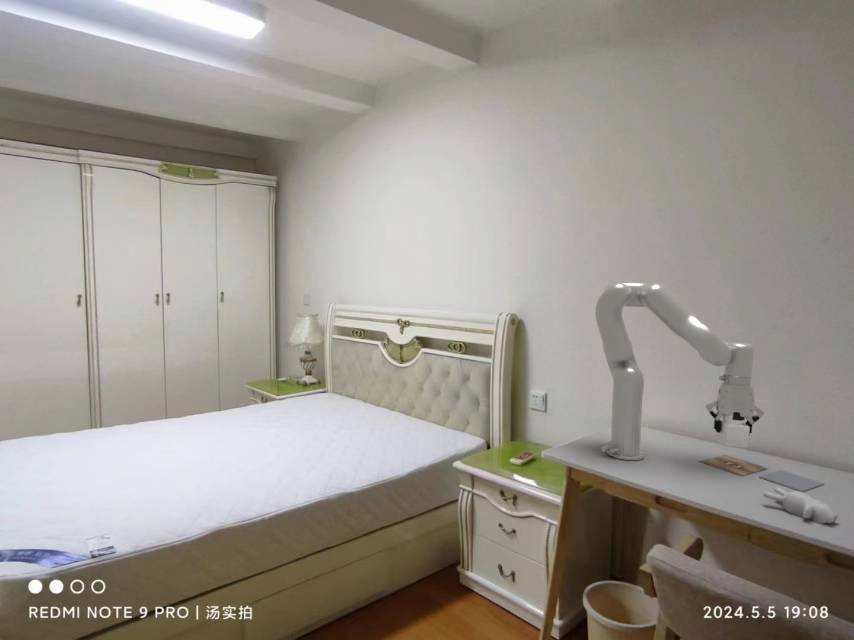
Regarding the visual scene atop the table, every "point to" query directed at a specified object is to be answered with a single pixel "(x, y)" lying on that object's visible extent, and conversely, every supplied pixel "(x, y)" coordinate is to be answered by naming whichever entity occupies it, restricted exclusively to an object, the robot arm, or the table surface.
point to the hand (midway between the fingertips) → (732, 432)
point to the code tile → (733, 465)
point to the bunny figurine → (803, 505)
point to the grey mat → (792, 480)
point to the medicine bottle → (733, 431)
